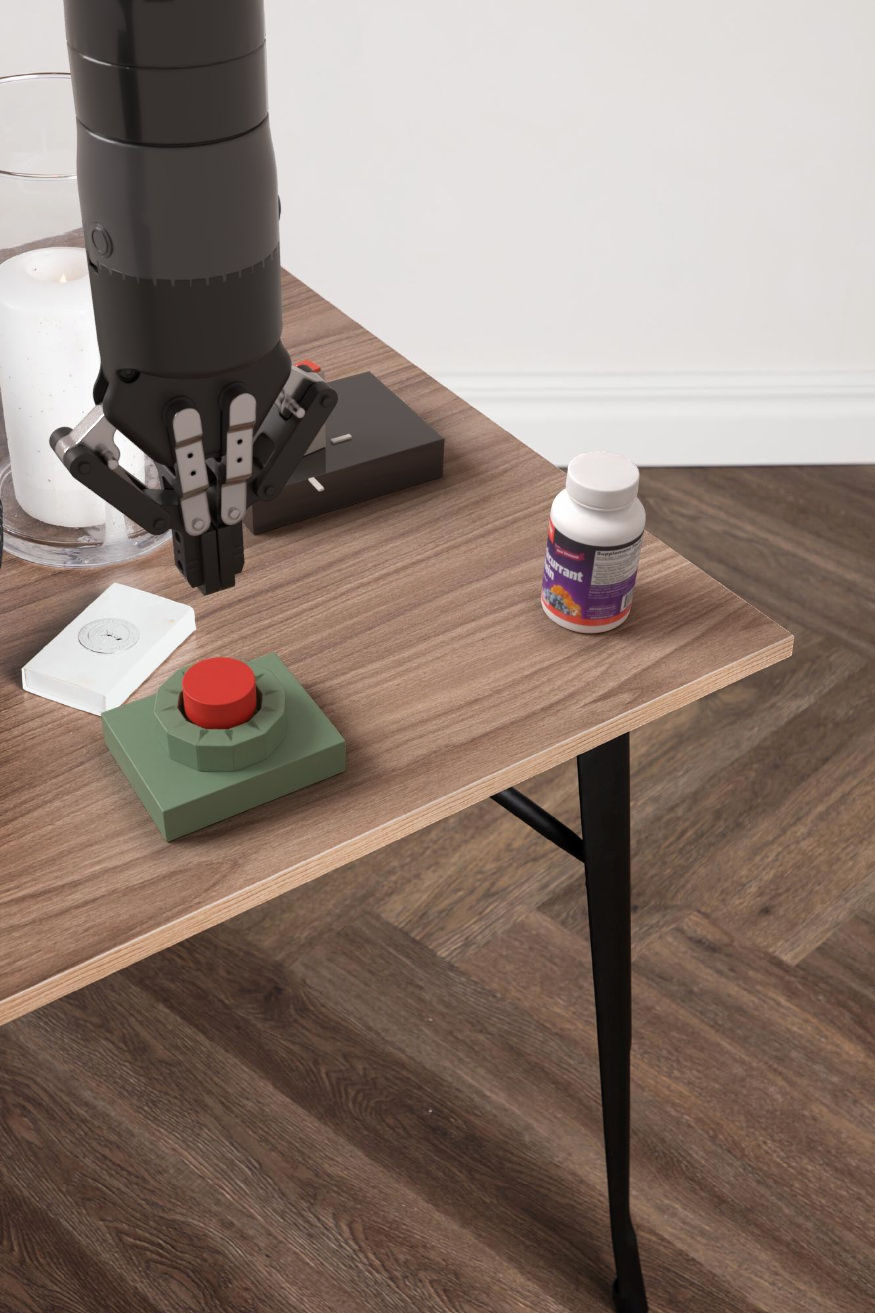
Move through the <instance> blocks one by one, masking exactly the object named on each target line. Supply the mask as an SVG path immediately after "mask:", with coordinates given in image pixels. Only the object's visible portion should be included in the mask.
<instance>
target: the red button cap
mask: <svg viewBox="0 0 875 1313" xmlns="http://www.w3.org/2000/svg"><path fill="white" fill-rule="evenodd" d="M236 659H237V658H232V657H226V656H216V657H210V658H206V659H203V660H200V661H197V662H195V663H196V664H195V663H193V664H194V665H193V666H192V667H190V668H189V669H188V670H187V672H186V673H185V675H184V677H183V680H182V688H183V698H184V707H185V713H186V715H187V717H188V718H189V719H190V721H192V722H193V723H194V724H196V725H197V726H199V727H202V728H205V729H230V728H233V727H236V726H239V725H241V724H244V723H245V722H247V721H248V720H249V719H250V718H251V717H252V716H253V714H254V713H255V710H256V706H257V700H256V682H255V675H254V673H253V671H252V669H251V668H250V667H249V666H248V665H247V664H245V663H243V662H241V661H239V660H236Z"/></svg>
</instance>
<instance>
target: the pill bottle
mask: <svg viewBox="0 0 875 1313" xmlns="http://www.w3.org/2000/svg"><path fill="white" fill-rule="evenodd" d="M640 475H641V474H640V470H639V467H638V466H637V465H636V464H635V463H634V461H633V460H631V459H629V458H628V457H626V456H624V455H622V454H619V453H615V452H611V451H602V450H594V451H589V452H583V453H581V454H579V455H576V456H575V457H574V458H572V459H571V461H569V463H568V466H567V471H566V479H565V488H563V490H561V491H559V493H558V494H557V495H556V496H555V498H554V500H553V501H552V504H551V507H550V513H549V514H550V515H549V522H548V523H549V524H548V531H547V540H546V548H545V556H544V565H543V572H542V573H543V574H542V582H541V590H540V603H541V606H542V609H543V611H544V613H545V614H546V616H547V617H548V618H549V619H550V620H551V621H552V622H554V623H555V624H556V625H558V626H560V627H561V628H564V629H566V630H569V631H573V632H576V633H581V634H582V633H583V634H598V633H604V632H608V631H611V630H613V629H615V628H616V629H617V627H619V626H621V625H622V624H623V623H624V622H625V621H626V619H627V618H628V616H629V615H630V612H631V608H632V603H633V598H634V592H635V588H636V581H637V575H638V569H639V564H640V558H641V551H642V546H643V540H644V534H645V527H646V519H647V518H646V517H647V515H646V510H645V507H644V505H643V503H642V502H641V500H640V499H639V497H638V492H639V484H640Z"/></svg>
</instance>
